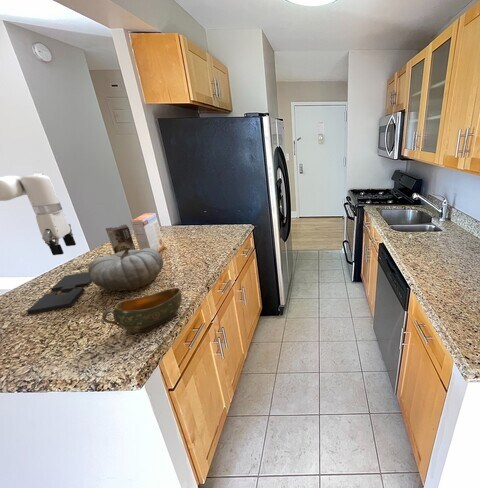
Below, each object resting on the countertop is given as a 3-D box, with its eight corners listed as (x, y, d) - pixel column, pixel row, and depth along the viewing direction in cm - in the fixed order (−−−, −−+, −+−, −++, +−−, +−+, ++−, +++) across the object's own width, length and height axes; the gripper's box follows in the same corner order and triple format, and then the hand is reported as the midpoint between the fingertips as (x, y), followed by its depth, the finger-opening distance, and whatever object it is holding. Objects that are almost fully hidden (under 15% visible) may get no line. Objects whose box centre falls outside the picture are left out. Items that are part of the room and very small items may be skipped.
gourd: (150, 292, 101) (132, 250, 96) (83, 307, 99) (61, 266, 94) (176, 268, 125) (163, 234, 120) (122, 280, 123) (107, 246, 118)
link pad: (49, 294, 105) (47, 291, 104) (66, 278, 117) (65, 275, 116) (86, 288, 109) (85, 285, 108) (99, 273, 121) (98, 270, 120)
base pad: (28, 314, 93) (26, 310, 92) (47, 296, 103) (45, 293, 103) (70, 306, 97) (69, 303, 96) (84, 290, 107) (83, 287, 107)
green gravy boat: (122, 317, 91) (113, 292, 87) (185, 305, 98) (180, 281, 94) (109, 342, 80) (98, 315, 76) (181, 326, 86) (174, 301, 83)
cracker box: (154, 248, 149) (144, 212, 141) (165, 247, 150) (156, 212, 142) (141, 258, 136) (129, 220, 128) (153, 257, 137) (142, 219, 129)
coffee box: (135, 251, 145) (126, 224, 139) (137, 255, 140) (129, 226, 134) (114, 256, 139) (105, 227, 133) (116, 260, 134) (106, 230, 128)
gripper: (48, 204, 105) (64, 243, 111) (19, 215, 90) (40, 259, 96) (71, 203, 107) (86, 241, 114) (47, 213, 92) (65, 256, 99)
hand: (65, 249), depth 105 cm, fingers open, 9 cm apart
